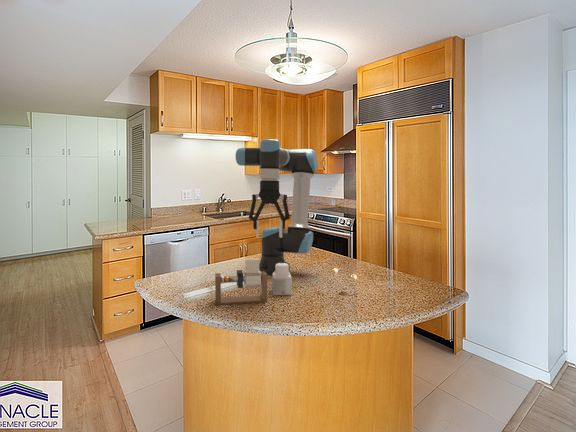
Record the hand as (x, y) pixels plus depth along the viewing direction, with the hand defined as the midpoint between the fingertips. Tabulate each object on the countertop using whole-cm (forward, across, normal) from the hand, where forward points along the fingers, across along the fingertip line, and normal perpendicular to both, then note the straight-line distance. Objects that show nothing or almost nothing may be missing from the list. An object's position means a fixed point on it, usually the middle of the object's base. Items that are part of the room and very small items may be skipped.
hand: (269, 237), depth 137 cm
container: (+26, -7, -8) cm, 28 cm away
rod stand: (+25, +11, 0) cm, 28 cm away
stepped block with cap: (+19, +6, 0) cm, 20 cm away
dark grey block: (+19, +11, 0) cm, 22 cm away
